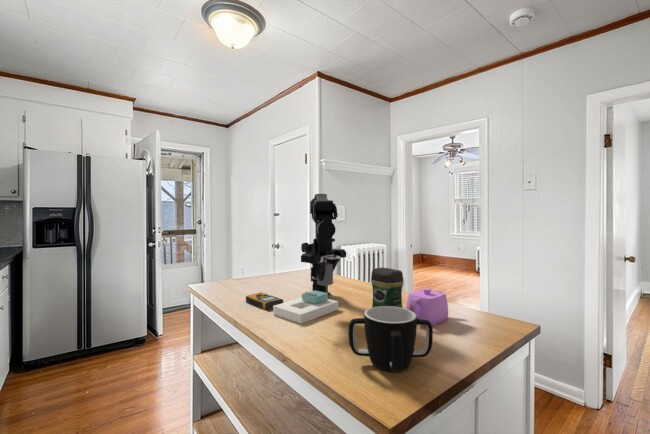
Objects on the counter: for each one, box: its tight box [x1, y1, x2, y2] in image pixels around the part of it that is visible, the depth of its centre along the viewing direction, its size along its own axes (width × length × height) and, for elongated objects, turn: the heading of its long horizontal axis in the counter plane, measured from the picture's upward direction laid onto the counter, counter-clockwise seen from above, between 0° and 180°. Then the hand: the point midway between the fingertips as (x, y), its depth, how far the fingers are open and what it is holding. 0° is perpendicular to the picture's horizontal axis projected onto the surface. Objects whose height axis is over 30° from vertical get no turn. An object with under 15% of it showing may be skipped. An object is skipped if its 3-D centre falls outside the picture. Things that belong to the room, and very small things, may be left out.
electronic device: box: [245, 291, 284, 311], centre depth 123 cm, size 8×16×3 cm, turn 44°
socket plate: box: [272, 297, 339, 325], centre depth 113 cm, size 19×14×3 cm
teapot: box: [405, 287, 449, 327], centre depth 105 cm, size 18×10×10 cm, turn 129°
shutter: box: [301, 290, 329, 304], centre depth 116 cm, size 7×7×3 cm
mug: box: [348, 306, 434, 373], centre depth 74 cm, size 16×16×12 cm
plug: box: [317, 260, 334, 287], centre depth 111 cm, size 4×4×9 cm
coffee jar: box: [370, 267, 404, 308], centre depth 97 cm, size 10×8×19 cm
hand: (324, 279), depth 111 cm, fingers closed on plug, 4 cm apart
